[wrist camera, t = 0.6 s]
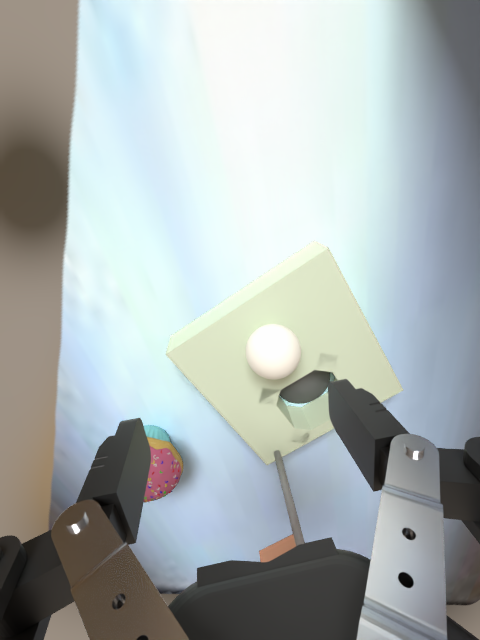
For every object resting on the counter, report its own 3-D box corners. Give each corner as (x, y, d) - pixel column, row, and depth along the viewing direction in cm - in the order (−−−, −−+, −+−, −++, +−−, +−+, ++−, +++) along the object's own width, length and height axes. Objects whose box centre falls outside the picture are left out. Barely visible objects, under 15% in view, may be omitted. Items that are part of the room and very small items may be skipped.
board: (314, 240, 30) (410, 289, 16) (384, 370, 38) (495, 486, 23) (155, 345, 34) (114, 468, 19) (249, 447, 41) (271, 593, 26)
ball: (277, 305, 29) (290, 328, 24) (302, 343, 30) (318, 371, 26) (232, 333, 29) (237, 360, 25) (260, 369, 31) (268, 400, 27)
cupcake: (101, 441, 38) (58, 544, 27) (146, 400, 36) (119, 492, 25) (155, 473, 41) (136, 577, 30) (199, 437, 39) (195, 533, 28)
